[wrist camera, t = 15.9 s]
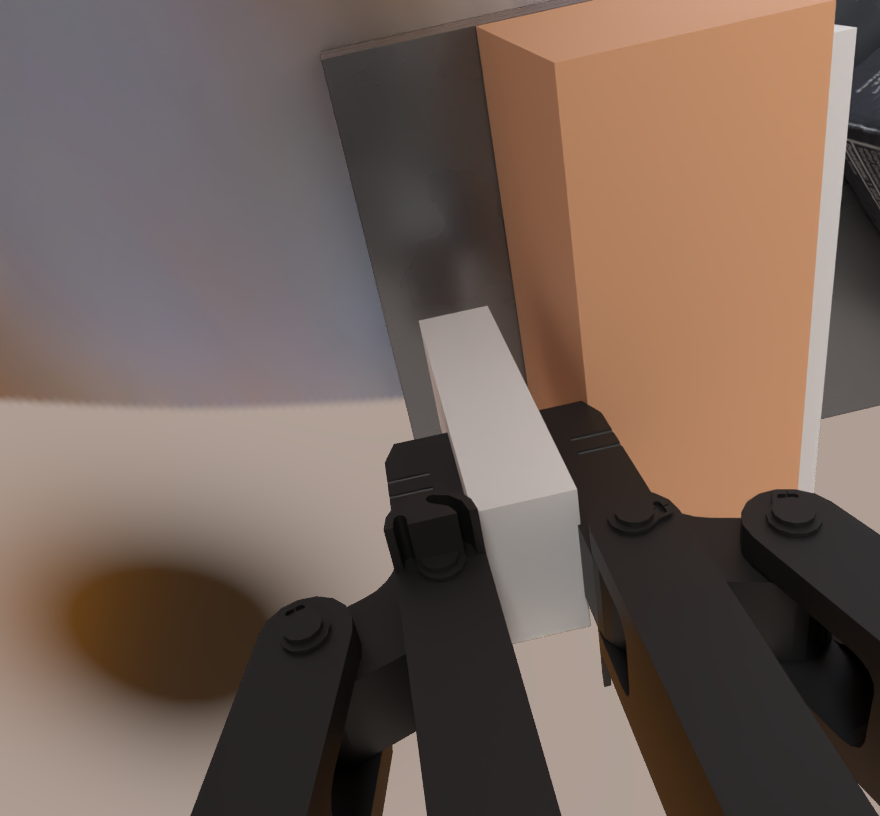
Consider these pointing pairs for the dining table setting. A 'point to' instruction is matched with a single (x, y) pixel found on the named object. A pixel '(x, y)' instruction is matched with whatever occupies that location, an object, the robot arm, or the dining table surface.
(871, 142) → the small box
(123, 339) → the dining table surface
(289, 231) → the dining table surface
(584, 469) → the robot arm
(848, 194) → the vise
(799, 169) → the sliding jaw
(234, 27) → the dining table surface
